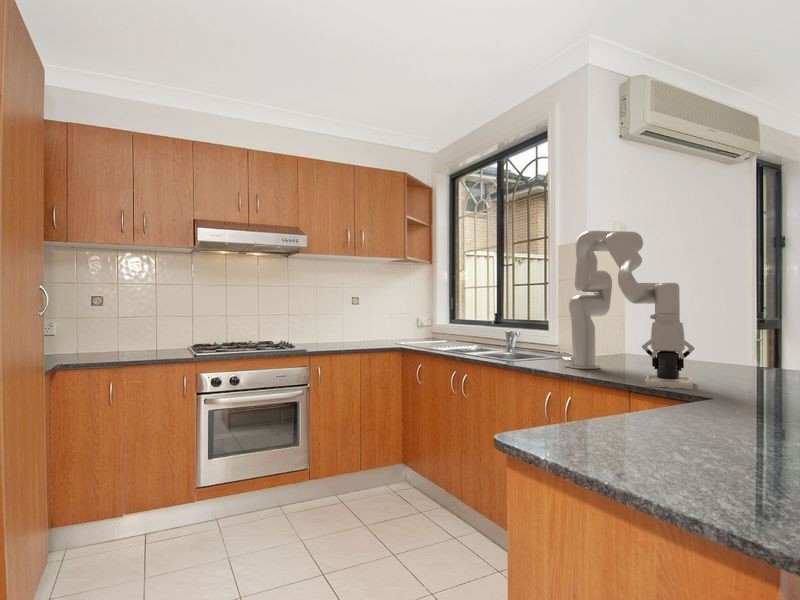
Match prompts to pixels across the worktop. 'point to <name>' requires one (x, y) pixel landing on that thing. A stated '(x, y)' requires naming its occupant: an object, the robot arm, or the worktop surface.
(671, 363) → the supplement bottle
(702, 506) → the worktop surface
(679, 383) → the dish
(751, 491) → the worktop surface
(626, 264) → the robot arm
